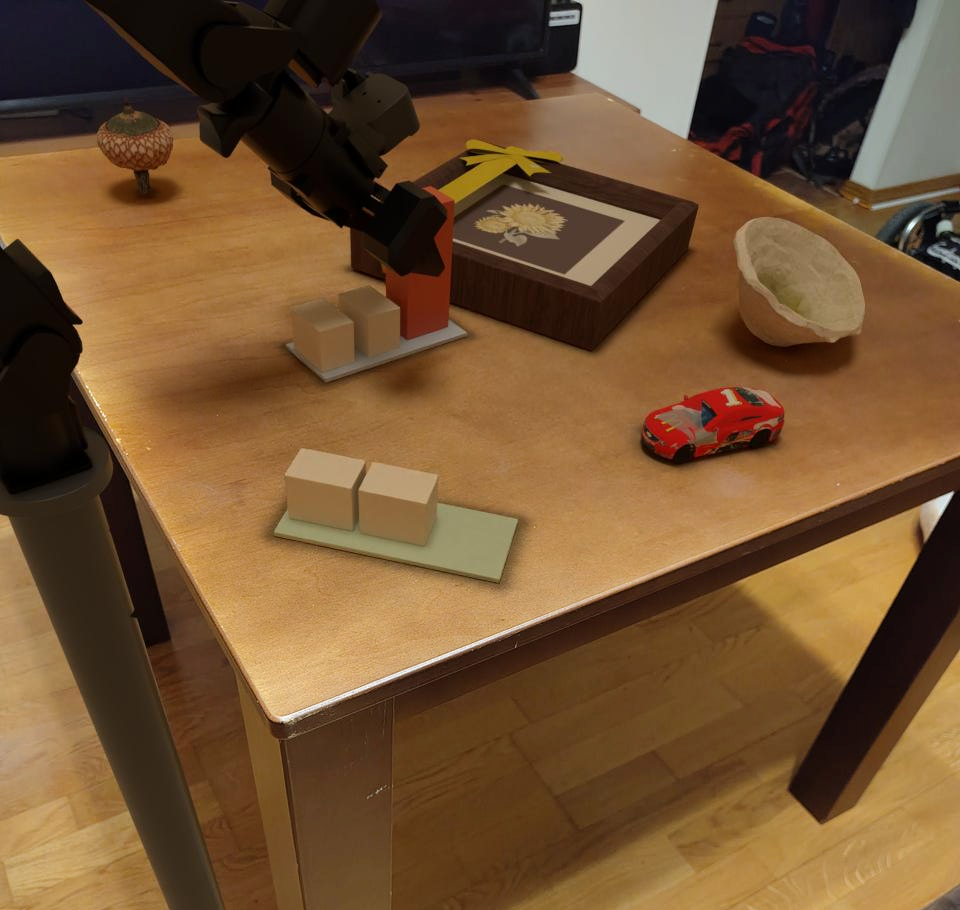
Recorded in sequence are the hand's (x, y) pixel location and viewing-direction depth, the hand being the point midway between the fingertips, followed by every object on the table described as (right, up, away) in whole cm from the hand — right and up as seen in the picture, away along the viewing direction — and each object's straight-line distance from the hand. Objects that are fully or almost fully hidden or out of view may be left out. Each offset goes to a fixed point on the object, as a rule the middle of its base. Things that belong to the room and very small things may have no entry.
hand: (410, 251), depth 81 cm
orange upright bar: (0, -5, +6) cm, 8 cm away
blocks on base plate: (-3, -7, +4) cm, 9 cm away
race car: (+26, -18, -3) cm, 32 cm away
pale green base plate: (0, -27, -14) cm, 30 cm away
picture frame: (+12, +7, +19) cm, 23 cm away
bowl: (+37, -5, +11) cm, 39 cm away
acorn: (-32, +17, +23) cm, 43 cm away
